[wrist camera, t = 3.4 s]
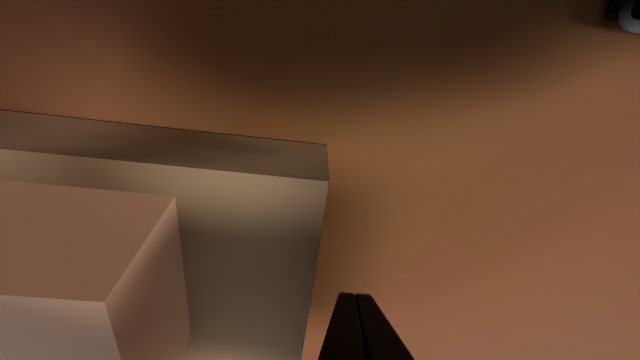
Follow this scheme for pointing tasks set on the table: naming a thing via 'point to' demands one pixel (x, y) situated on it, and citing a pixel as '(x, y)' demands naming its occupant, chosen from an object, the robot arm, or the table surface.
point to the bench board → (202, 217)
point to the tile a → (90, 275)
